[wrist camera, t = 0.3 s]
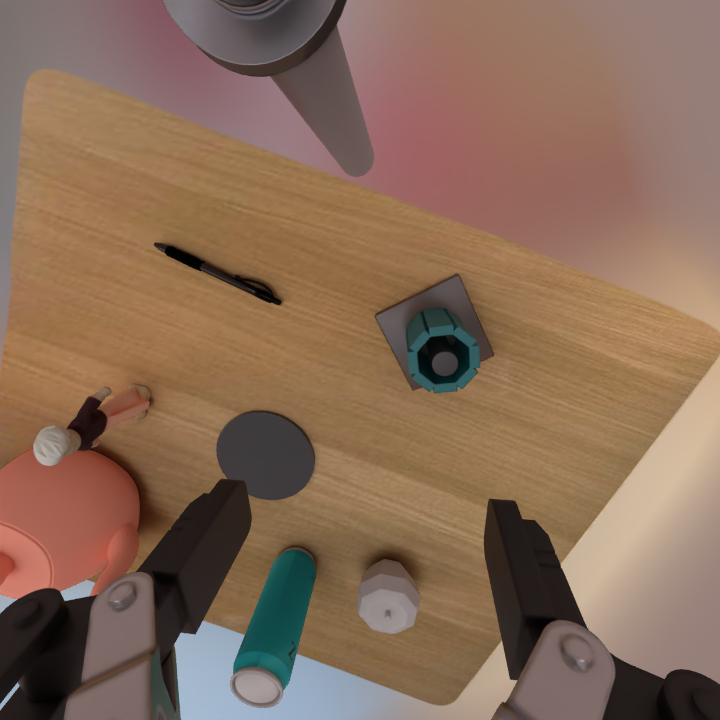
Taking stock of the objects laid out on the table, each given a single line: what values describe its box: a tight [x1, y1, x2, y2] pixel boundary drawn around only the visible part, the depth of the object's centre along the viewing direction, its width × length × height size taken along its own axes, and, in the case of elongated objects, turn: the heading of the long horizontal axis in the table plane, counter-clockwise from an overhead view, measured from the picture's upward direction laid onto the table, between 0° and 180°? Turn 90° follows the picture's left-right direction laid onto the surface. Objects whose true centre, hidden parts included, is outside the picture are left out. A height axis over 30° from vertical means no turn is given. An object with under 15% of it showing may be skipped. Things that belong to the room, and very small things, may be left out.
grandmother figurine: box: [33, 384, 150, 466], centre depth 38 cm, size 8×4×13 cm, turn 166°
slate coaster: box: [217, 411, 315, 500], centre depth 44 cm, size 12×12×1 cm
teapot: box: [0, 448, 140, 599], centre depth 43 cm, size 25×17×13 cm
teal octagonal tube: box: [406, 308, 480, 393], centre depth 33 cm, size 6×6×8 cm
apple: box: [356, 559, 421, 634], centre depth 45 cm, size 8×8×7 cm
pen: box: [154, 243, 281, 305], centre depth 37 cm, size 14×2×1 cm, turn 65°
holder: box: [375, 274, 494, 391], centre depth 33 cm, size 9×9×10 cm
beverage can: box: [230, 547, 316, 708], centre depth 42 cm, size 6×6×15 cm
